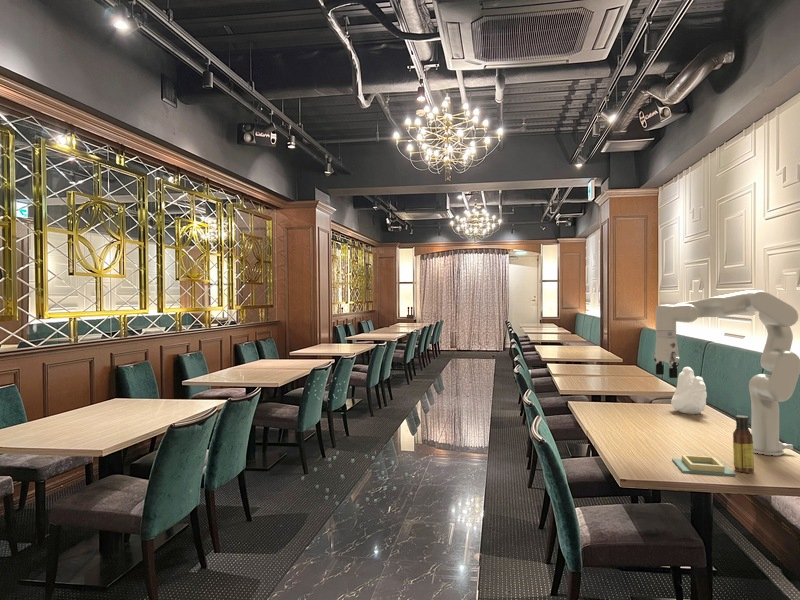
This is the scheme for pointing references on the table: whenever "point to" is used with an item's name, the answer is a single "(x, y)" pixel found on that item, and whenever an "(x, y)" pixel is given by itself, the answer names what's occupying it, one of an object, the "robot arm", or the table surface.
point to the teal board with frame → (702, 465)
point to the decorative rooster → (689, 393)
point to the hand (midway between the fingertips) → (666, 376)
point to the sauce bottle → (743, 446)
